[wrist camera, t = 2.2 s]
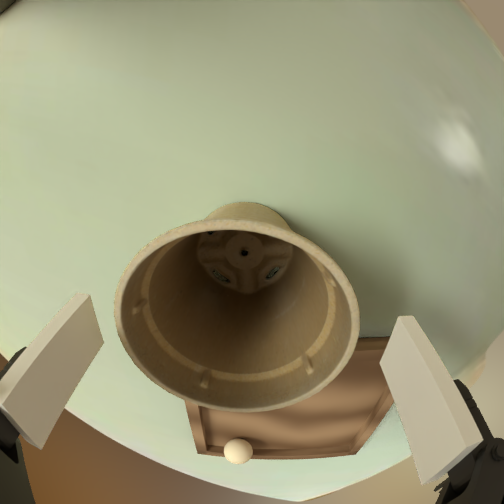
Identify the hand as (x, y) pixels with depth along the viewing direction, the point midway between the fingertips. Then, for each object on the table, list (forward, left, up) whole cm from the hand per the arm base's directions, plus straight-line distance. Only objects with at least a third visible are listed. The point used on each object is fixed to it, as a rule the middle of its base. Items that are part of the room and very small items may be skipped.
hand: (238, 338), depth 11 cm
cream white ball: (+23, 0, -7) cm, 24 cm away
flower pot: (0, 0, -8) cm, 8 cm away
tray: (+17, +5, -8) cm, 19 cm away
